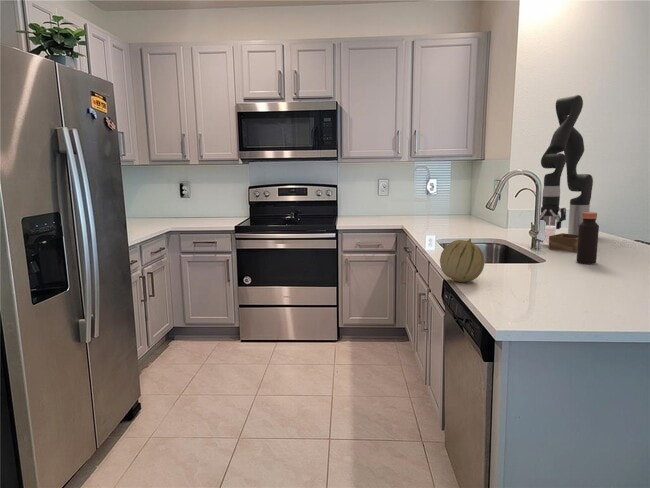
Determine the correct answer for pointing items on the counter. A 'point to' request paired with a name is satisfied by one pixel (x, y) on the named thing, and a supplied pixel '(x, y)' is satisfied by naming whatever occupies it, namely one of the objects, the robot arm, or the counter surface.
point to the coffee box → (546, 219)
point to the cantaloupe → (462, 261)
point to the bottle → (588, 239)
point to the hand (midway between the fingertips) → (549, 228)
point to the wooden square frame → (564, 242)
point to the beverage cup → (549, 232)
